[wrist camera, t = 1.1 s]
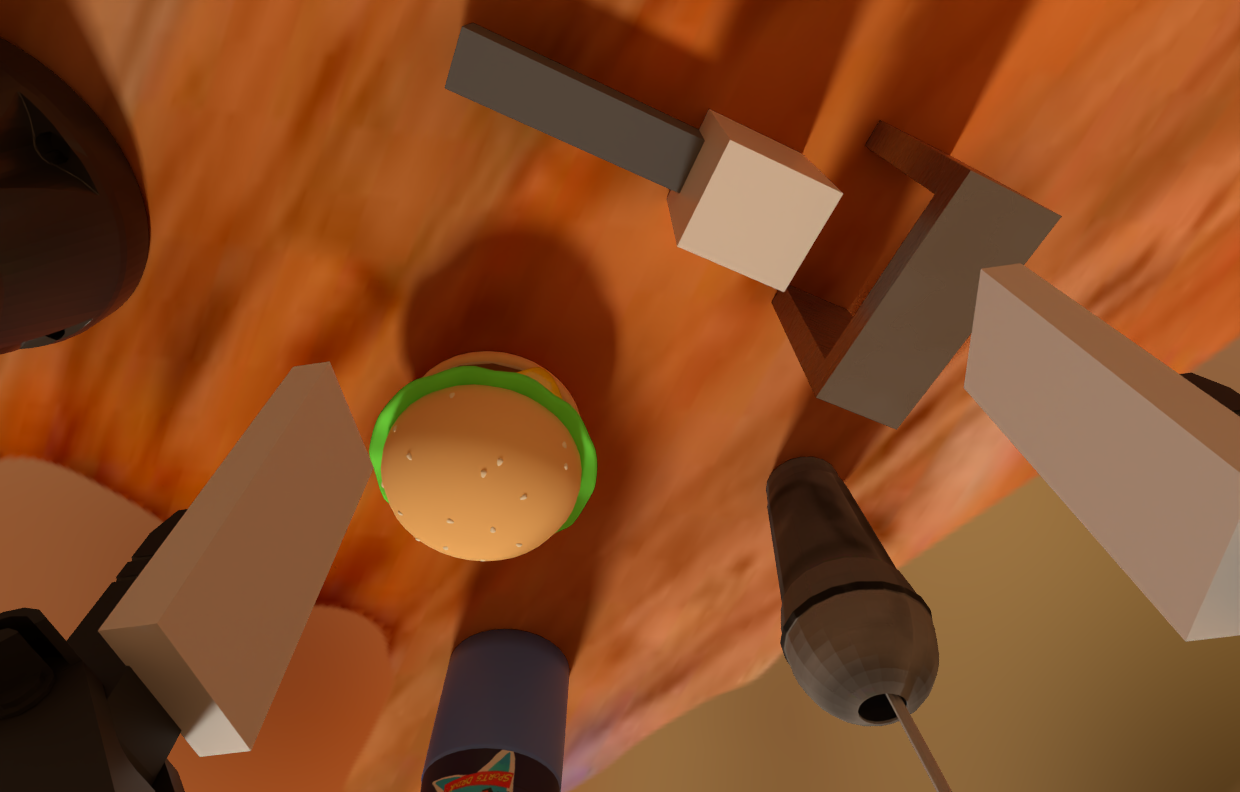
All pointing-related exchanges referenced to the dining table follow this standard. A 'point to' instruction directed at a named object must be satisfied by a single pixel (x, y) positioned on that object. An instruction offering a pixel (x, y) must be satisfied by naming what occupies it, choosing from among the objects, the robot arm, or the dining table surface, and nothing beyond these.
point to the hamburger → (484, 456)
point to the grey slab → (914, 287)
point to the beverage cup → (848, 607)
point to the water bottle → (500, 717)
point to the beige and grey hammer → (664, 156)
